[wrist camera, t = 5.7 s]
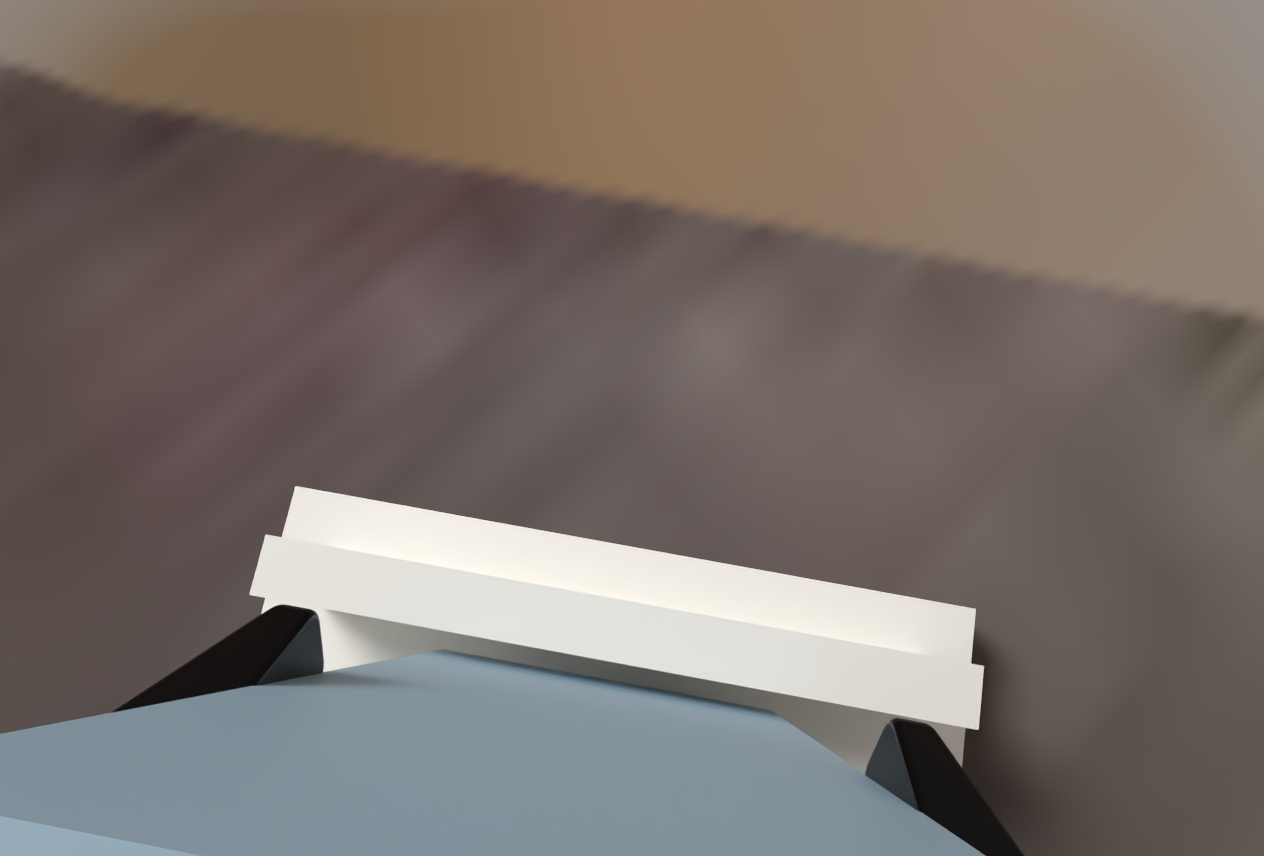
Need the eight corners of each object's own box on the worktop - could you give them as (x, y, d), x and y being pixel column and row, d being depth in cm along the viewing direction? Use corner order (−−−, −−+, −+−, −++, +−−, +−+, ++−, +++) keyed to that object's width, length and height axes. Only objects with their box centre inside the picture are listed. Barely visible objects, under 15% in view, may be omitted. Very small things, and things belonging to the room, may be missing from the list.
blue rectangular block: (754, 829, 14) (1305, 1771, 3) (417, 764, 15) (-440, 1376, 3) (770, 710, 15) (1305, 1072, 3) (443, 649, 15) (-211, 775, 3)
